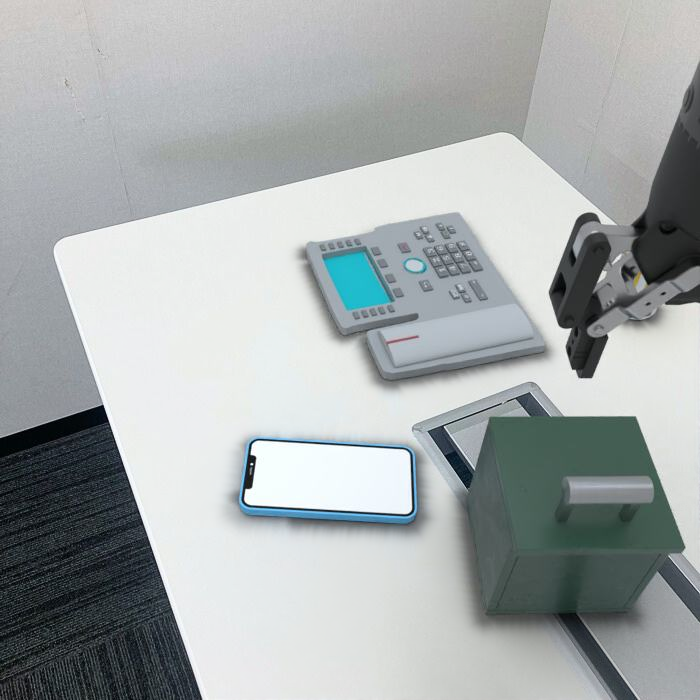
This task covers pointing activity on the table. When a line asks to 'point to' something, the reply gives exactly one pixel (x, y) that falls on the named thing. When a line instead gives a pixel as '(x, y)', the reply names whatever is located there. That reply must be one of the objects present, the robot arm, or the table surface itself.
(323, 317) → the table surface
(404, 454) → the smartphone
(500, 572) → the waste bin
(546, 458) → the bin lid
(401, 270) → the office telephone
